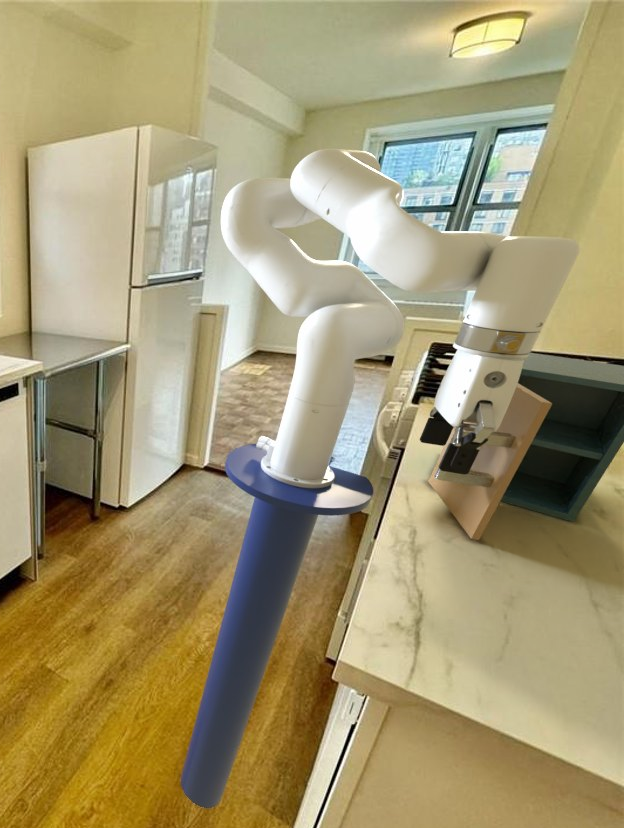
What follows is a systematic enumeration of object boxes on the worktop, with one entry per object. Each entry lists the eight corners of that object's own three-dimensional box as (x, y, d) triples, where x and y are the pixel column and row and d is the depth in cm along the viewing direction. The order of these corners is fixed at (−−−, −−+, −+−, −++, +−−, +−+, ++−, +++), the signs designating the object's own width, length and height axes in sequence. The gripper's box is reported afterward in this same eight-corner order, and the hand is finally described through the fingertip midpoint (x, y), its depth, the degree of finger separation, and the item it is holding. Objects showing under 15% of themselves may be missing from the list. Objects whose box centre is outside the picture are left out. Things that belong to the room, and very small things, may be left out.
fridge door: (420, 529, 73) (482, 396, 64) (387, 475, 89) (433, 360, 79) (479, 540, 71) (553, 403, 61) (434, 482, 86) (488, 365, 77)
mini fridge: (573, 522, 76) (657, 389, 66) (431, 481, 87) (485, 362, 77) (569, 489, 85) (642, 368, 75) (441, 456, 96) (490, 347, 86)
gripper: (566, 361, 54) (497, 490, 62) (503, 329, 68) (453, 438, 76) (482, 353, 57) (426, 478, 65) (438, 324, 71) (397, 430, 79)
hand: (441, 456), depth 70 cm, fingers open, 9 cm apart
